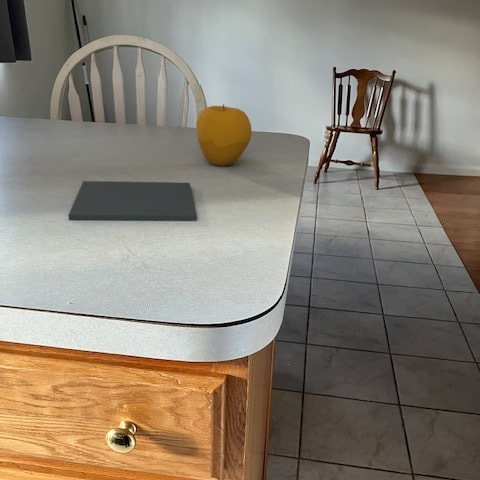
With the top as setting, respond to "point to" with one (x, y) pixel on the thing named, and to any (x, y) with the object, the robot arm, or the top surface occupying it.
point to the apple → (223, 134)
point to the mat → (133, 201)
